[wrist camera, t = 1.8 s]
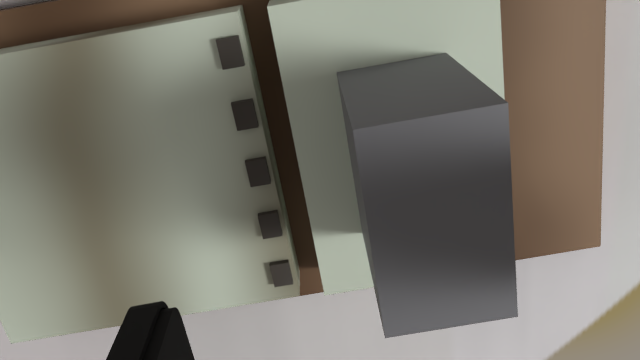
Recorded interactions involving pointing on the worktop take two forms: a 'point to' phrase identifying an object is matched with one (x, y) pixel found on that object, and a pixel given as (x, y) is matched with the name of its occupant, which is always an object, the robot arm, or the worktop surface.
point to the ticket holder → (228, 155)
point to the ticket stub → (404, 153)
